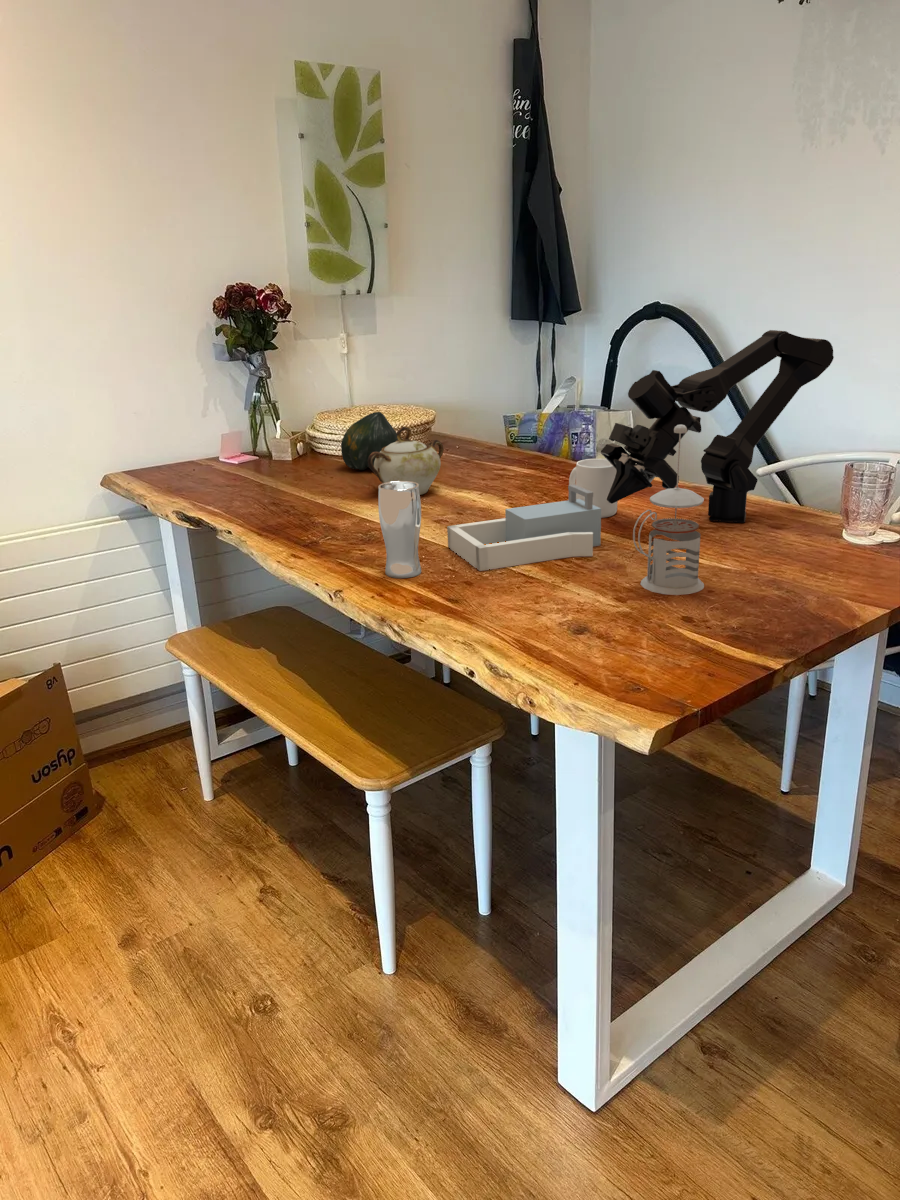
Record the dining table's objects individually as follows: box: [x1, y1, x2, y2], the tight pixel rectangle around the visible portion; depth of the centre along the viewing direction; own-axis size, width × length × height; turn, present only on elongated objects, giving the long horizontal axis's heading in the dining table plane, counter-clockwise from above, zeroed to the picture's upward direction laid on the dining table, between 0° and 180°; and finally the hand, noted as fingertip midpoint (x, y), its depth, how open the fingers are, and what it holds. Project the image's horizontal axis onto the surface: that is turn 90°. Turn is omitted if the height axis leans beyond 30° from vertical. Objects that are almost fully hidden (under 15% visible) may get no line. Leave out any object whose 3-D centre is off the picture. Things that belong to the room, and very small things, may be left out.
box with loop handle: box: [504, 484, 602, 547], centre depth 162 cm, size 15×8×10 cm, turn 111°
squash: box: [340, 411, 398, 471], centre depth 229 cm, size 14×15×15 cm
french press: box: [632, 425, 705, 596], centre depth 137 cm, size 10×12×25 cm
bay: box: [446, 517, 594, 572], centre depth 160 cm, size 21×18×4 cm
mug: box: [568, 458, 618, 519], centre depth 182 cm, size 12×8×10 cm
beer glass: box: [377, 481, 422, 579], centre depth 149 cm, size 7×7×15 cm
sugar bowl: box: [368, 426, 444, 496], centre depth 202 cm, size 20×15×15 cm
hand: (609, 501), depth 165 cm, fingers closed
